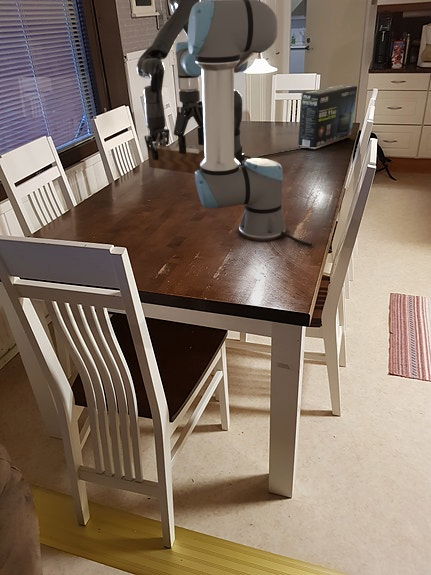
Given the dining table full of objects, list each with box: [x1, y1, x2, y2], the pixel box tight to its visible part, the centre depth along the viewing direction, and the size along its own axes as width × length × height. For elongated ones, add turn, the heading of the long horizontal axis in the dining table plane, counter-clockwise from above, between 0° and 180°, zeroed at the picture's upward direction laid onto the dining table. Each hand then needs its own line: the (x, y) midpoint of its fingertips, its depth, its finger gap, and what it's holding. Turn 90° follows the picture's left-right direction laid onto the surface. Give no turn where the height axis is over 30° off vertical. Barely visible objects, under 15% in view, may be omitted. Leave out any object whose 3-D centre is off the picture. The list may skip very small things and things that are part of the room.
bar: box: [146, 144, 205, 175], centre depth 183 cm, size 24×5×8 cm, turn 60°
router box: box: [297, 84, 358, 151], centre depth 238 cm, size 36×11×27 cm, turn 134°
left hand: (159, 158), depth 187 cm, fingers closed on bar, 5 cm apart
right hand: (192, 149), depth 177 cm, fingers open, 13 cm apart
